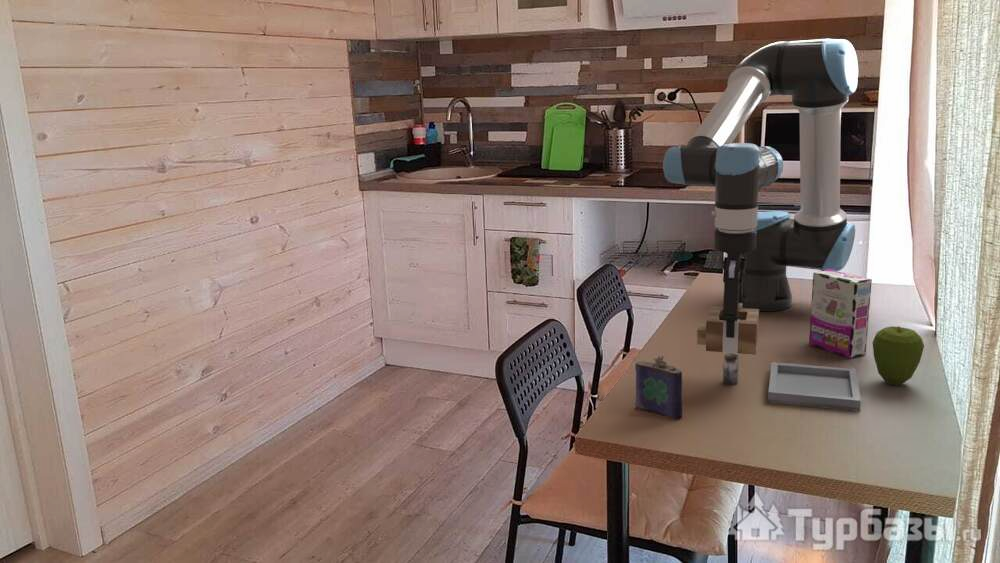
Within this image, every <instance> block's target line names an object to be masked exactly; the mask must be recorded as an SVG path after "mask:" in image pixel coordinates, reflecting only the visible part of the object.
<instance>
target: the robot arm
mask: <svg viewBox="0 0 1000 563" xmlns="http://www.w3.org/2000/svg"><path fill="white" fill-rule="evenodd" d="M858 78H859V62H858V57H857V52H856V50H855V48H854V46H853V44H852V43H851V42H850V41H849V40H847V39H843V38H840V39H839V38H837V39H836V38H820V39H819V38H816V39H807V40H806V39H805V40H791V41H790V40H789V41H776V42H774V43H769V44H768V45H765V46H763V47H761V48H759V49H757V50H755V51H754V52H752V53H751V54H750V55H748V56H746V57H745V58H744V59H742V61H741V62H739V63H738V65H737V66H736V67H735V68H734V69H733V71H732V72H731V73H730V75H729V76H728V79H727V87H726V89H724V91H723V93H721V95H720V97H719V99H718V100H717V101H716V102H715V104H713V106H712V108H711V110H710V111H709V113H708V114H707V115H706V117H705V118H704V119H703V121H702V123H701V124H700V125H699V126H698V128H697V130H695V132H694V134H693V136H691V138H690V139H689V141H688V142H687V143H686V145H684V146H683V145H679V146H671V147H669V148H668V149H667V150H666V152H665V153H664V157H663V162H662V163H663V164H662V170H663V174H664V177H665V179H666V180H667V181H668V183H671V184H677V185H678V184H679V185H684V186H687V185H688V186H705V187H706V186H707V187H708V186H709V187H710V186H711V187H715V189H714V190H715V191H714V192H715V195H714V196H715V197H714V199H715V200H714V206H715V207H714V210H712V211H711V216H713V217H715V218H714V227H716V229H715V230H714V231H713V233H714V234H713V235H714V236H713V237H714V239H713V248H714V249H715V250H716V251H718V252H720V253H725V254H726V255H727V256H725V257H724V258H723V260H722V269H723V278H722V281H723V284H724V285H723V286H724V287H723V305H722V307H723V315H722V316H719V320H723V350H722V352H721V353H724V354H738V327H739V319H738V308H747V309H759V312H775V311H780V310H785V309H788V308H790V307H792V304H793V294H792V291H791V288H790V283H789V280H788V277H787V267H792V268H797V269H798V268H801V269H808V270H815V271H816V270H817V271H822V270H828V269H829V270H833V271H838V272H840V271H842V270H843V269H844V268H845V266H846V265H847V263H848V262H849V260H850V256H851V254H852V252H853V251H852V250H853V246H854V243H855V238H856V225H855V224H853V223H851V222H848V223H847V220H848V218H847V216H848V215H847V212H845V211H844V210H843V209H841V206H840V205H841V204H840V202H841V201H840V200H841V132H842V131H841V130H842V129H841V124H842V119H841V118H842V108H843V107H844V106H845V105H846V104H847V103H848V102H849V96H851V95H852V94H854V93H855V92H856V91H857V88H858V83H859V82H858ZM771 96H791V100H792V101H791V102H792V104H791V106H792V107H793V108H795V109H796V110H797V111H798V112H799V164H800V165H799V168H800V169H799V173H800V174H799V176H800V177H799V181H800V209H799V210H798V211H797V212H796V213H795V214H794V216H793V218H791V215H790V213H789V212H788V211H783V210H772V211H764V212H763V211H762V212H759V211H758V210H759V205H758V204H759V203H758V201H759V200H758V199H759V190H760V189H762V188H765V187H769V185H772V184H773V183H774V182H775V181H776V180H778V179H779V178H780V177H781V174H782V173H783V170H784V160H783V157H782V155H781V154H780V152H779V151H777V150H776V149H775V148H773V147H771V146H766V145H765V146H764V145H763V146H758V145H757V144H754V143H749V142H734V140H735V139H736V138H737V136H738V134H739V133H740V132H741V129H743V127H744V125H745V124H746V122H747V120H748V119H749V118H750V116H751V115H752V113H753V111H755V109H756V107H757V106H758V105H761V104H762V103H764V102H765V101H766V100H767V98H769V97H771ZM727 313H732V314H727Z"/></svg>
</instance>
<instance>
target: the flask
mask: <svg viewBox="0 0 1000 563" xmlns="http://www.w3.org/2000/svg"><path fill="white" fill-rule="evenodd" d="M663 358H665V356H664V355H658V356H657V357H653V360H654V361H655V362H652V361H646V360H638V361H636V362H635V408H636V409H637V410H639V411H640V412H646V413H648V414H651V415H655V416H659V417H663V418H666V419H670V420H671V421H680V420H681V419H683V371H682V370H681V369H680V368H676V366H674V365H668V363H667V362H666V361H664V360H663Z"/></svg>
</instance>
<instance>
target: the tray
mask: <svg viewBox="0 0 1000 563" xmlns="http://www.w3.org/2000/svg"><path fill="white" fill-rule="evenodd" d="M860 393H861V392H860V387H859V381H858V375H857V369H856V368H849V367H848V368H846V367H834V366H823V365H810V364H800V363H799V364H797V363H784V362H774V361H773V362H771V363H770V373H769V385H768V394H767V396H768V397H767V402H768V403H772V404H782V405H784V404H785V405H793V406H801V407H811V408H812V407H814V408H822V409H823V408H824V409H833V410H842V411H843V410H844V411H855V412H861V403H862V398H861V394H860Z"/></svg>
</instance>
